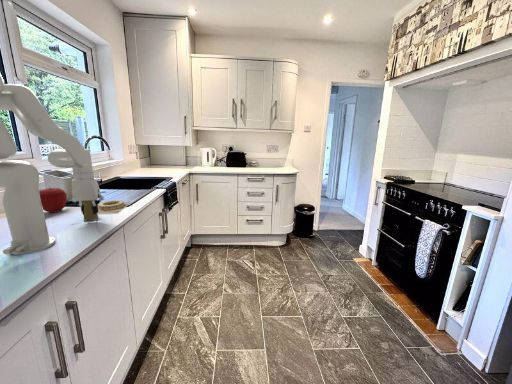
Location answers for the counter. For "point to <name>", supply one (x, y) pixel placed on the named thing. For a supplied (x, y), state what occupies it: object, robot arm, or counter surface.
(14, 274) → the counter surface
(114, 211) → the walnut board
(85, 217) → the cork
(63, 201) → the apple
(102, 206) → the beech ring
